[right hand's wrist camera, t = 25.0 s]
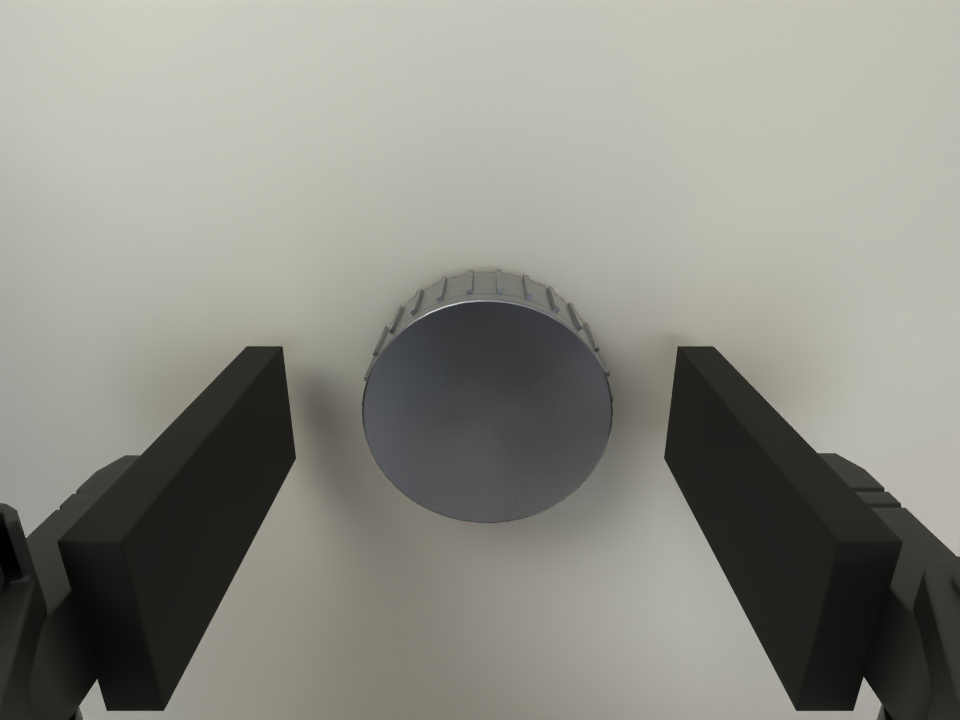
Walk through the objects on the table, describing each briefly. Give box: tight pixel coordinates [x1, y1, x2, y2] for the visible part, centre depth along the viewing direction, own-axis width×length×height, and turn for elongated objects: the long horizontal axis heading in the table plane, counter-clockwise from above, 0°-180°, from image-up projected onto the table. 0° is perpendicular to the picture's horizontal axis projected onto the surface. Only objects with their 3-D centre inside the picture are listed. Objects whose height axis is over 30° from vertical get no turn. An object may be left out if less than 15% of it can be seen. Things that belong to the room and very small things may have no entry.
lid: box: [362, 269, 613, 523], centre depth 13 cm, size 5×5×2 cm
